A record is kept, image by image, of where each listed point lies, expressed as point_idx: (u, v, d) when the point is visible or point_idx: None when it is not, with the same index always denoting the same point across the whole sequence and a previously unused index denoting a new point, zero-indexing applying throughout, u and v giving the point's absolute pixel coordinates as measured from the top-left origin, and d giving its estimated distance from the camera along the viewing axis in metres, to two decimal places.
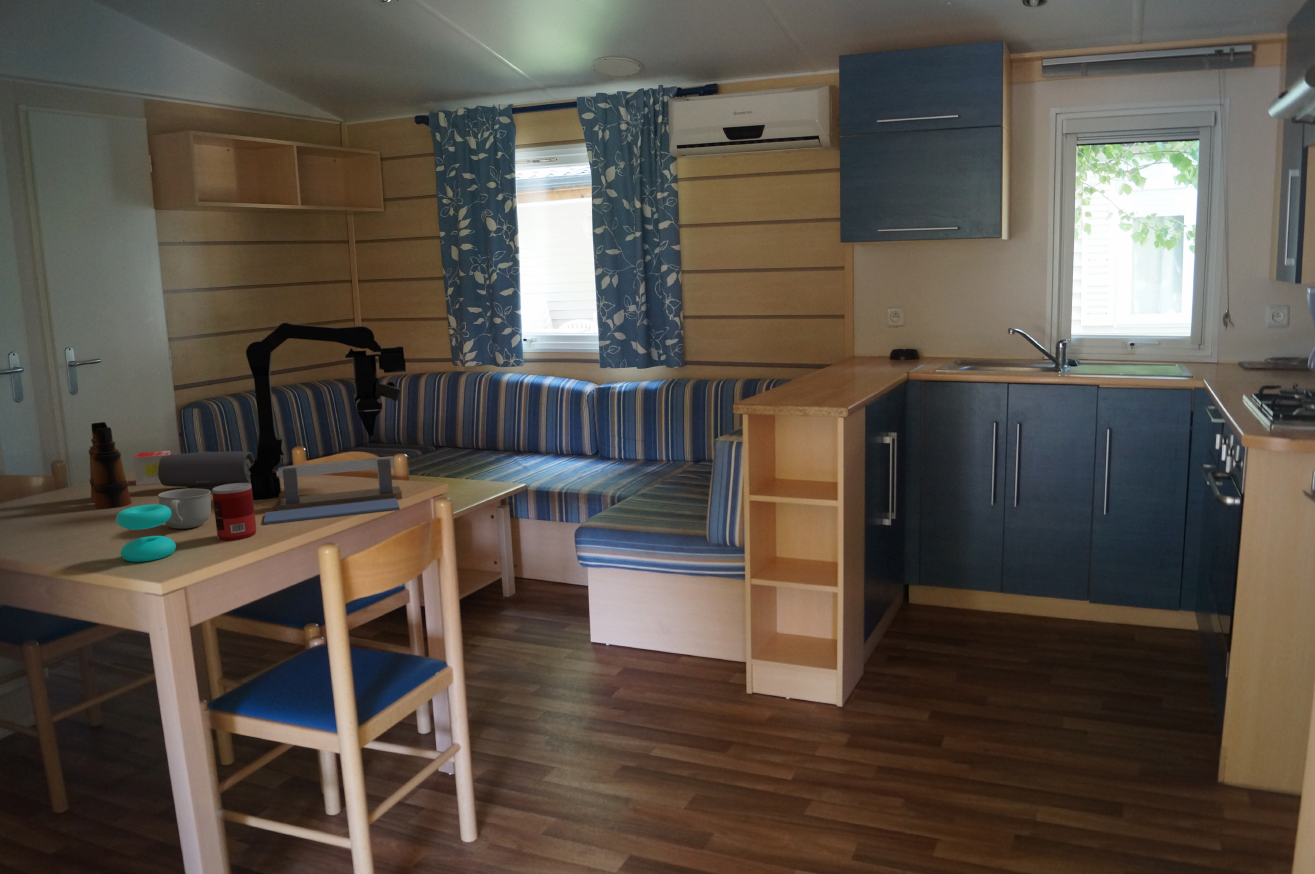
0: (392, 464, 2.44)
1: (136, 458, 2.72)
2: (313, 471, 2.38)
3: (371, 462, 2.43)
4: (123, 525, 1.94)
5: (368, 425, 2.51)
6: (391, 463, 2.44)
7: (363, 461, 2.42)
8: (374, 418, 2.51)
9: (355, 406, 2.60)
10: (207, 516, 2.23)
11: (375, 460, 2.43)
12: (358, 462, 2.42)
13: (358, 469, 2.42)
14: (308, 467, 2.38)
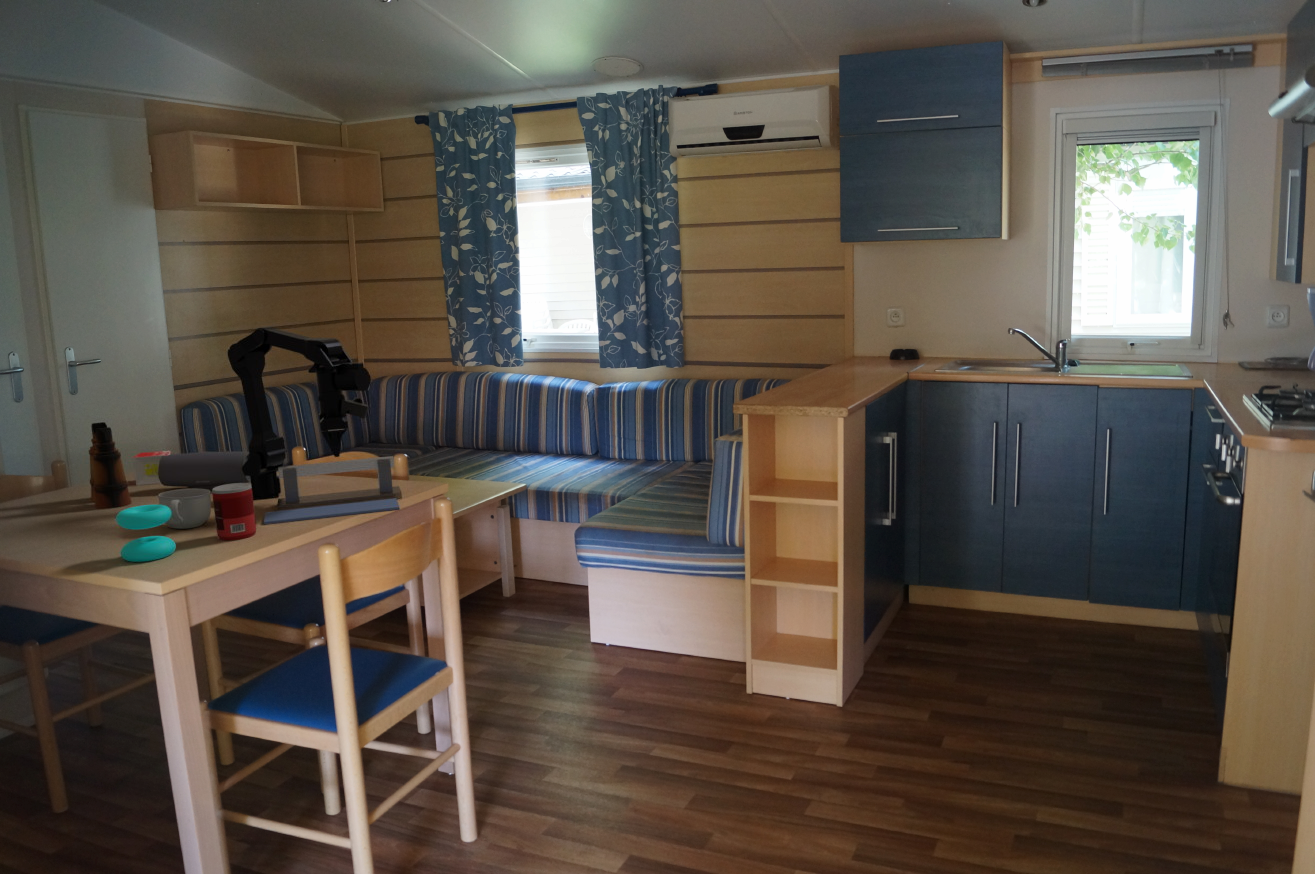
0: (392, 464, 2.44)
1: (136, 458, 2.72)
2: (313, 471, 2.38)
3: (371, 462, 2.43)
4: (123, 525, 1.94)
5: (333, 445, 2.35)
6: (391, 463, 2.44)
7: (363, 461, 2.42)
8: (340, 438, 2.35)
9: None
10: (207, 516, 2.23)
11: (375, 460, 2.43)
12: (358, 462, 2.42)
13: (358, 469, 2.42)
14: (308, 467, 2.38)
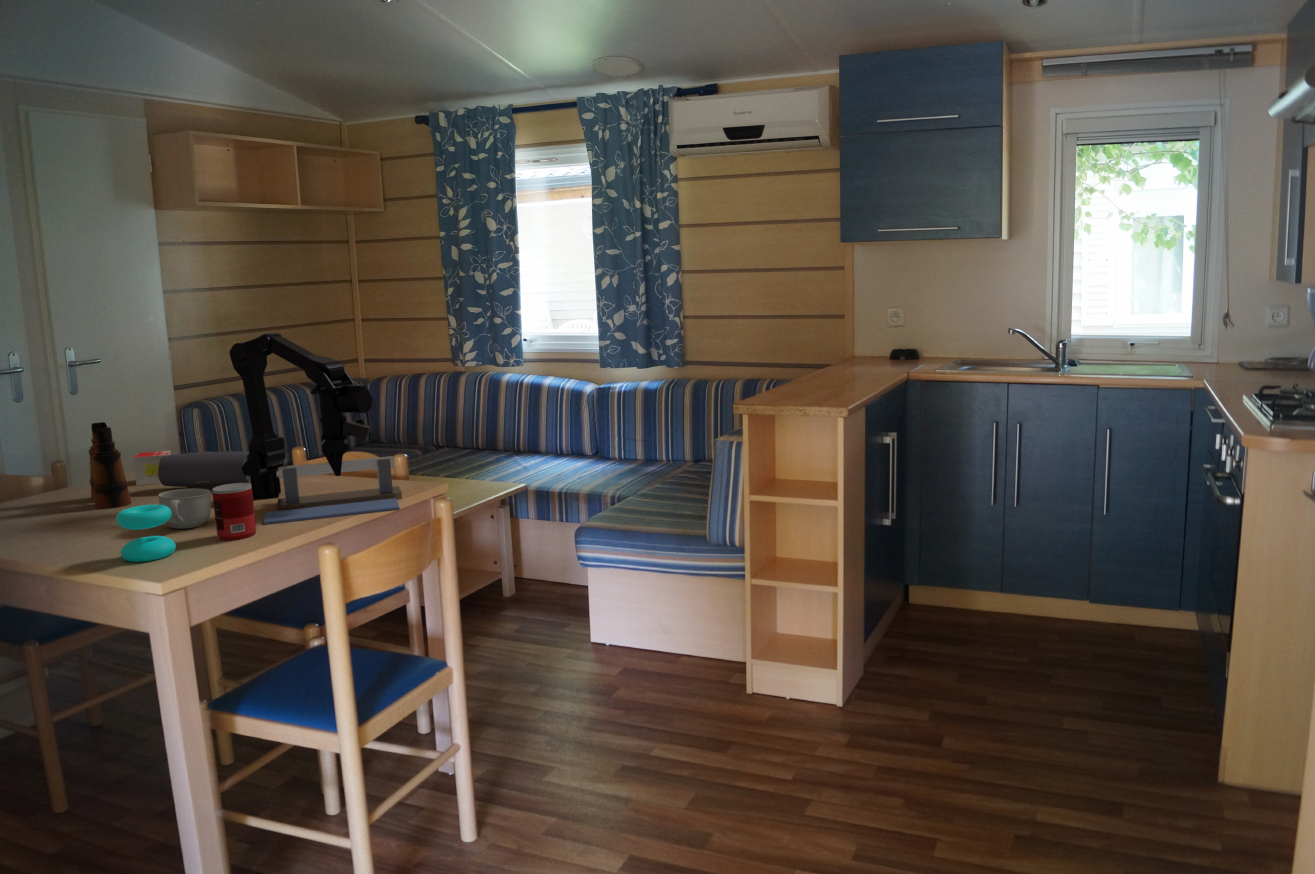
0: (392, 464, 2.44)
1: (136, 458, 2.72)
2: (313, 471, 2.38)
3: (371, 462, 2.43)
4: (123, 525, 1.94)
5: (334, 464, 2.39)
6: (391, 463, 2.44)
7: (363, 461, 2.42)
8: (341, 457, 2.38)
9: None
10: (207, 516, 2.23)
11: (375, 460, 2.43)
12: (358, 462, 2.42)
13: (358, 469, 2.42)
14: (308, 467, 2.38)
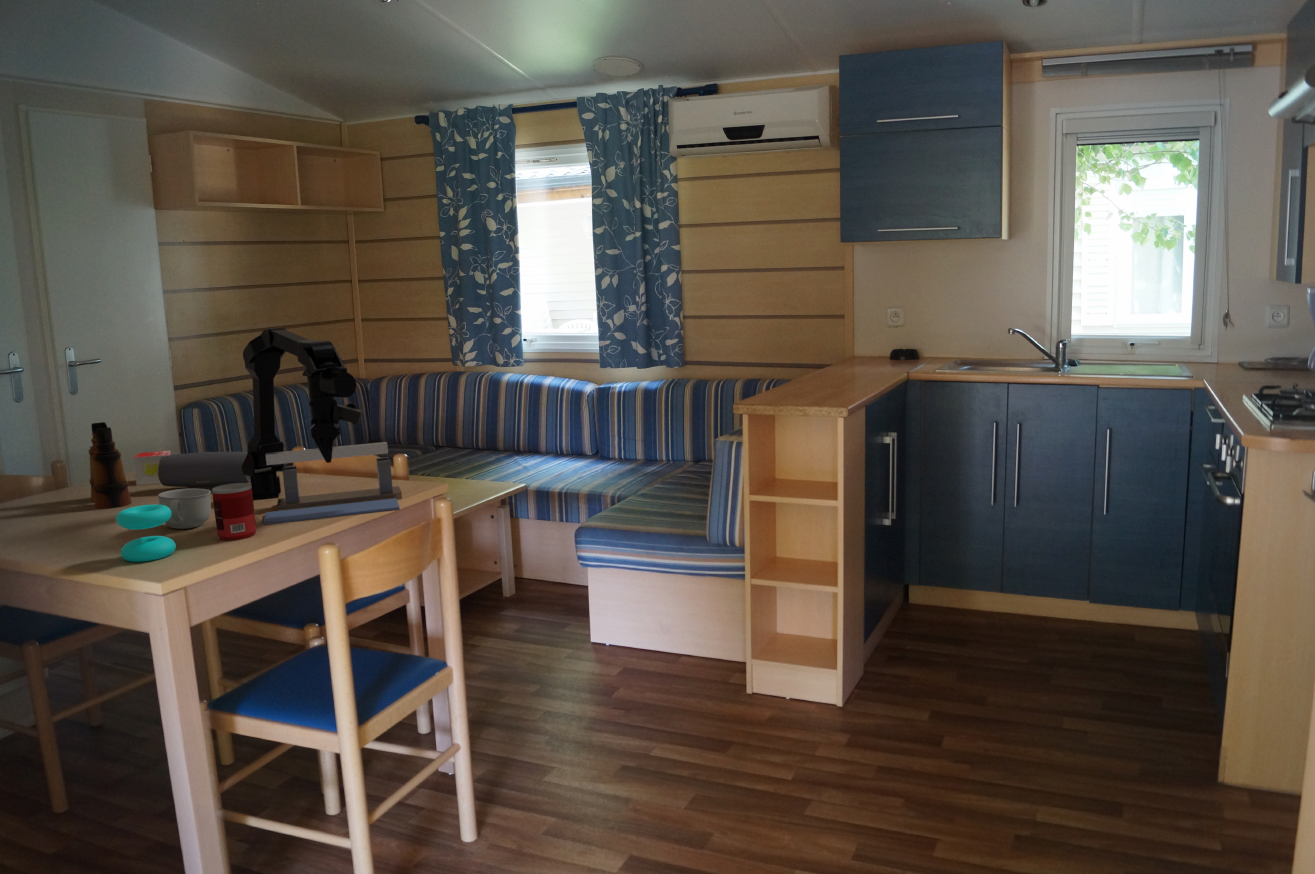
0: (386, 450, 2.33)
1: (136, 458, 2.72)
2: (302, 457, 2.27)
3: (364, 448, 2.31)
4: (123, 525, 1.94)
5: (324, 450, 2.27)
6: (385, 449, 2.33)
7: (355, 447, 2.30)
8: (331, 443, 2.27)
9: None
10: (207, 516, 2.23)
11: (368, 446, 2.31)
12: (350, 448, 2.30)
13: (350, 455, 2.30)
14: (297, 453, 2.26)
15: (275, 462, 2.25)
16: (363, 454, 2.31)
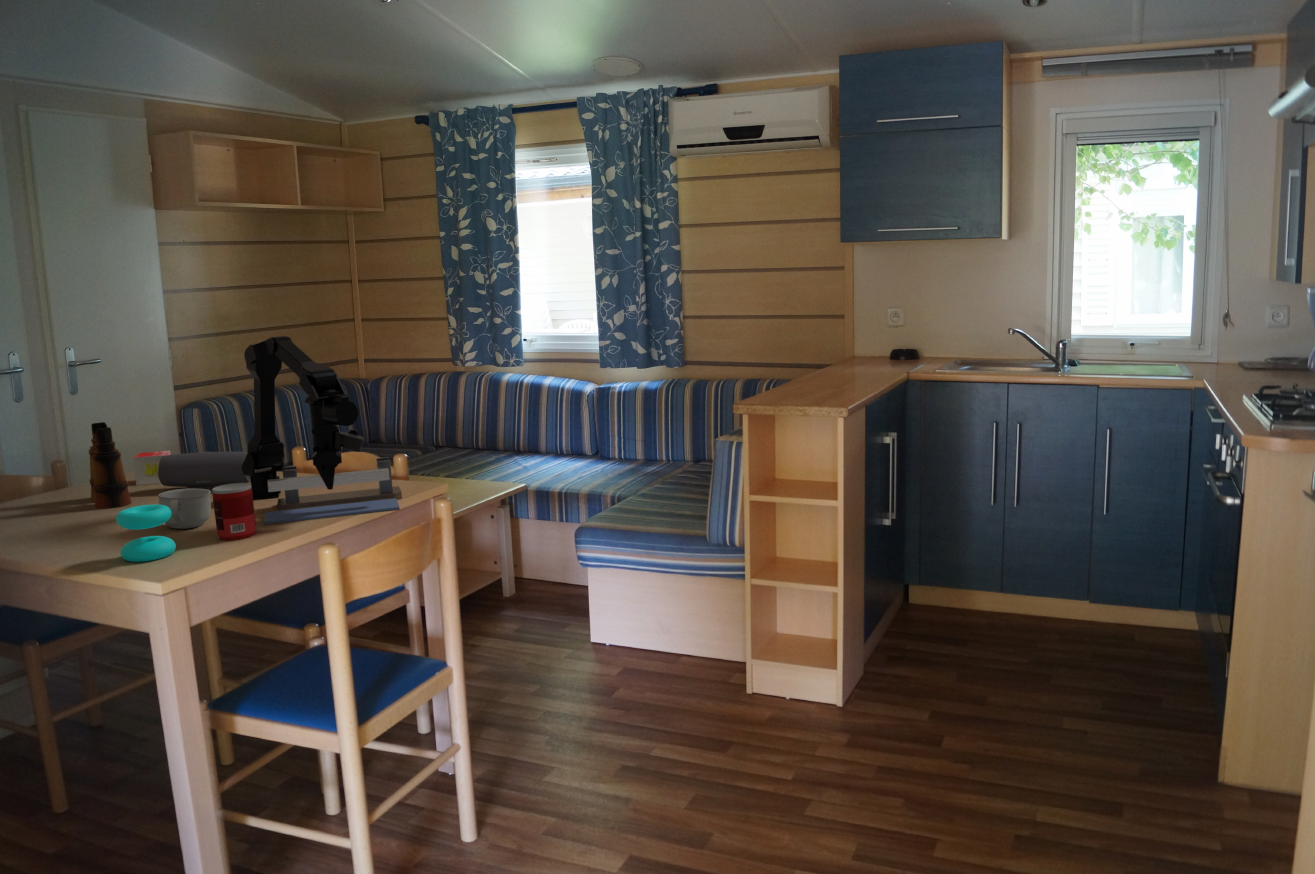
0: (387, 477, 2.34)
1: (136, 458, 2.72)
2: (304, 484, 2.28)
3: (365, 474, 2.32)
4: (123, 525, 1.94)
5: (326, 477, 2.28)
6: (386, 475, 2.33)
7: (357, 474, 2.31)
8: (333, 470, 2.28)
9: None
10: (207, 516, 2.23)
11: (369, 472, 2.32)
12: (351, 475, 2.31)
13: (351, 482, 2.31)
14: (299, 480, 2.27)
15: (277, 489, 2.26)
16: (365, 481, 2.32)
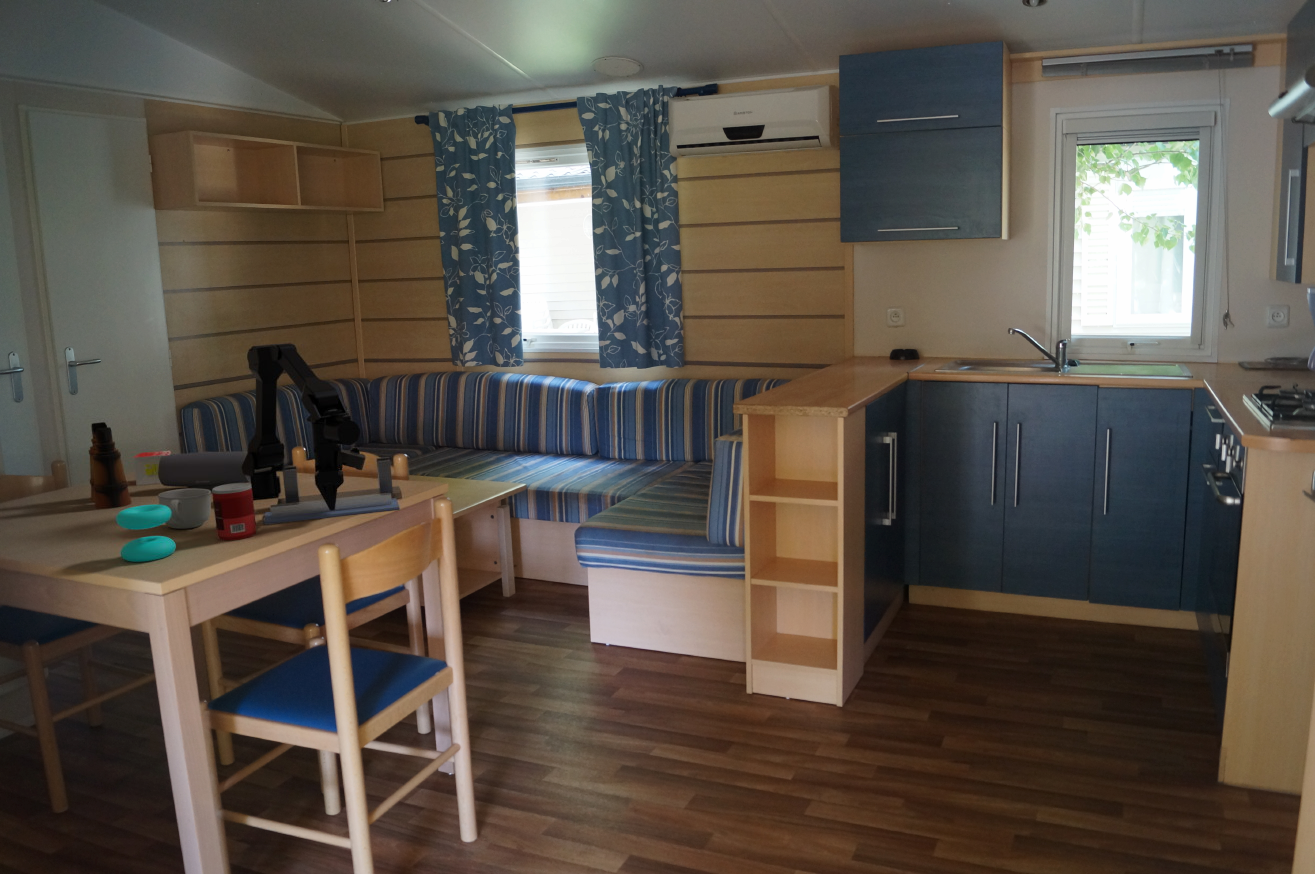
0: (389, 501, 2.35)
1: (136, 458, 2.72)
2: (306, 509, 2.29)
3: (368, 499, 2.33)
4: (123, 525, 1.94)
5: (328, 498, 2.26)
6: (388, 500, 2.34)
7: (359, 498, 2.32)
8: (335, 491, 2.26)
9: None
10: (207, 516, 2.23)
11: (372, 497, 2.33)
12: (354, 499, 2.32)
13: (354, 507, 2.32)
14: (302, 505, 2.28)
15: (280, 514, 2.27)
16: (367, 505, 2.33)
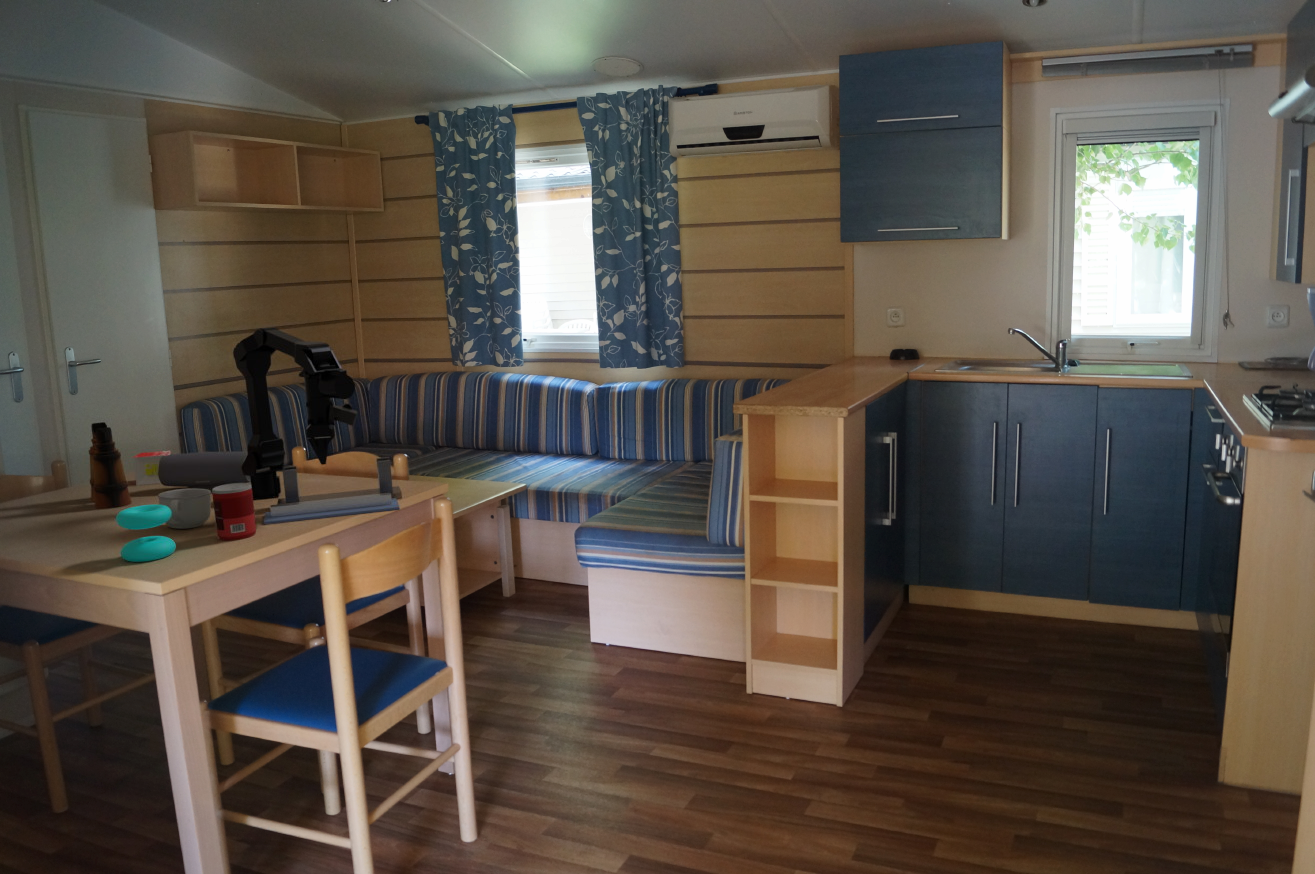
0: (389, 501, 2.35)
1: (136, 458, 2.72)
2: (306, 509, 2.29)
3: (368, 499, 2.33)
4: (123, 525, 1.94)
5: (320, 452, 2.30)
6: (388, 500, 2.34)
7: (359, 498, 2.32)
8: (326, 445, 2.29)
9: None
10: (207, 516, 2.23)
11: (372, 497, 2.33)
12: (354, 499, 2.32)
13: (354, 507, 2.32)
14: (302, 505, 2.28)
15: (280, 514, 2.27)
16: (367, 505, 2.33)
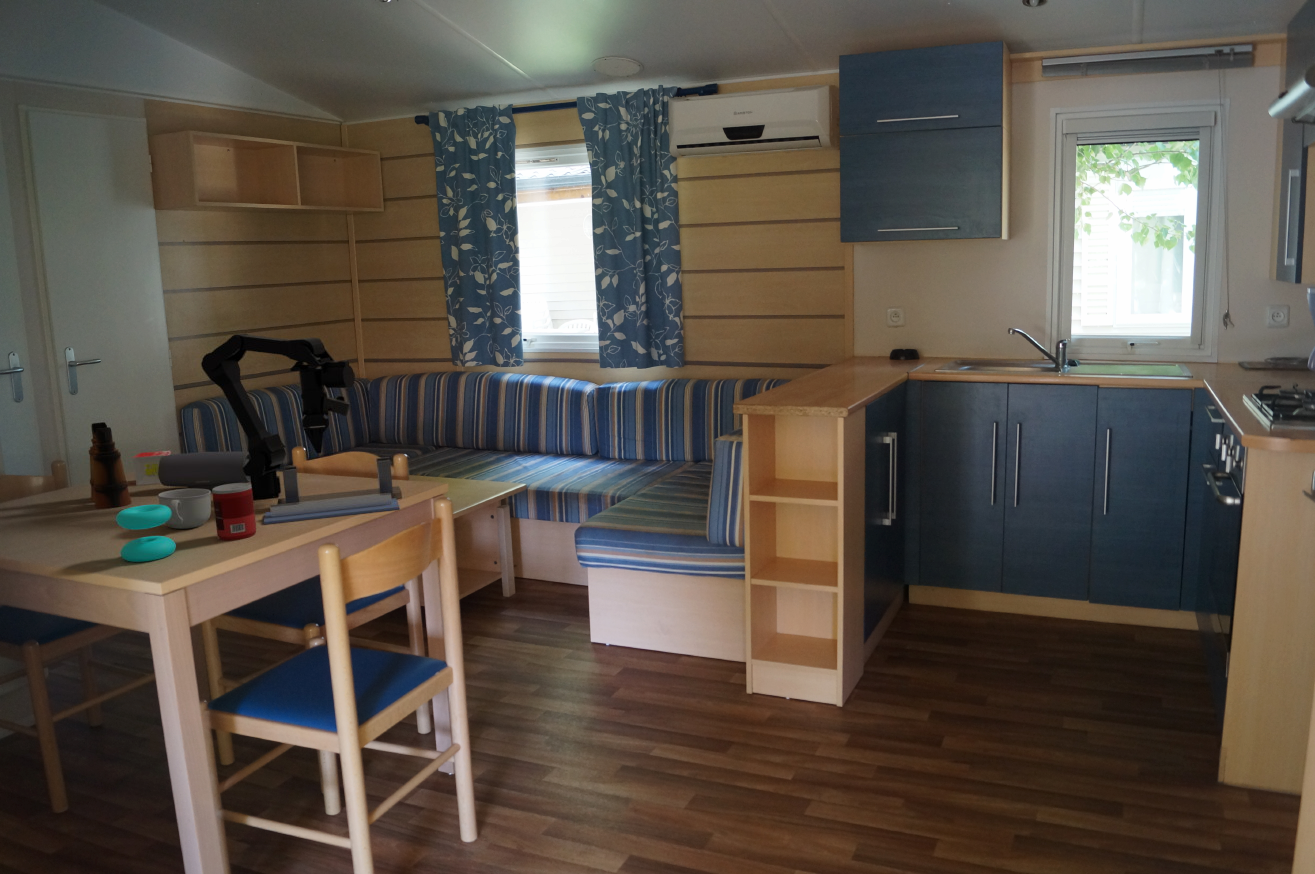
0: (389, 501, 2.35)
1: (136, 458, 2.72)
2: (306, 509, 2.29)
3: (368, 499, 2.33)
4: (123, 525, 1.94)
5: (315, 442, 2.41)
6: (388, 500, 2.34)
7: (359, 498, 2.32)
8: (321, 434, 2.41)
9: None
10: (207, 516, 2.23)
11: (372, 497, 2.33)
12: (354, 499, 2.32)
13: (354, 507, 2.32)
14: (302, 505, 2.28)
15: (280, 514, 2.27)
16: (367, 505, 2.33)
